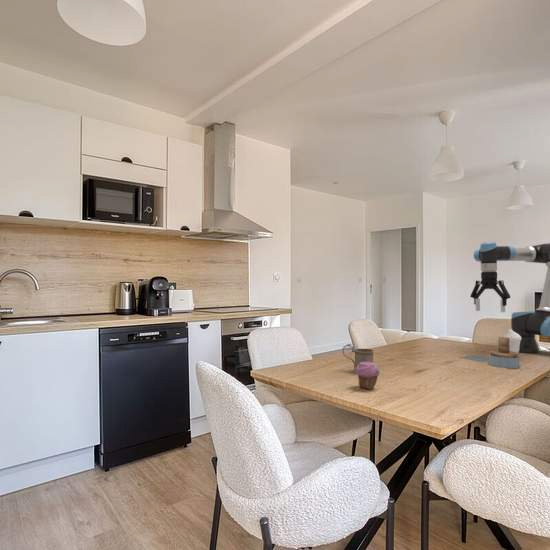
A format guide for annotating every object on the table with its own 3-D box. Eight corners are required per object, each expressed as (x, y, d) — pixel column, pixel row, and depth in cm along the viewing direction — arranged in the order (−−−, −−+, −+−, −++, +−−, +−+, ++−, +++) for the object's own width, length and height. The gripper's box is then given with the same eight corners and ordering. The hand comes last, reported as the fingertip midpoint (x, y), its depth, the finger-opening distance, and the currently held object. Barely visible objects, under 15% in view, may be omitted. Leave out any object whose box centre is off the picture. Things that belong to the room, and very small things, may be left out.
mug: (375, 370, 178) (375, 343, 178) (375, 375, 168) (375, 347, 168) (343, 368, 182) (343, 342, 182) (341, 372, 172) (341, 345, 172)
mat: (474, 355, 213) (474, 355, 213) (499, 360, 200) (499, 359, 200) (457, 358, 206) (457, 357, 206) (482, 363, 194) (482, 362, 194)
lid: (499, 352, 195) (499, 335, 195) (524, 356, 185) (524, 338, 185) (484, 354, 190) (484, 337, 190) (509, 358, 179) (508, 340, 179)
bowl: (499, 362, 196) (499, 352, 196) (525, 367, 185) (524, 356, 185) (483, 364, 190) (483, 354, 190) (509, 369, 179) (509, 358, 179)
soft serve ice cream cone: (516, 357, 207) (516, 327, 208) (525, 361, 199) (524, 329, 199) (500, 357, 208) (499, 327, 208) (507, 360, 200) (507, 329, 200)
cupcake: (351, 387, 148) (351, 361, 148) (363, 383, 154) (363, 358, 154) (371, 392, 141) (371, 365, 141) (384, 388, 147) (384, 361, 148)
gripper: (462, 272, 216) (464, 310, 215) (509, 270, 194) (510, 313, 194) (471, 272, 220) (472, 309, 219) (517, 270, 198) (518, 312, 198)
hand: (490, 311), depth 207 cm, fingers open, 13 cm apart
